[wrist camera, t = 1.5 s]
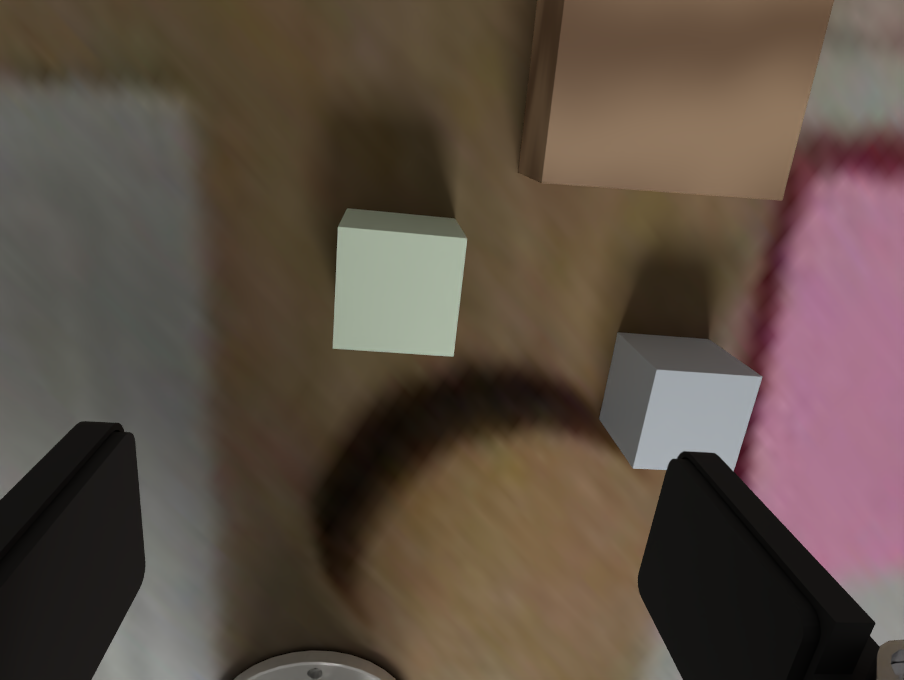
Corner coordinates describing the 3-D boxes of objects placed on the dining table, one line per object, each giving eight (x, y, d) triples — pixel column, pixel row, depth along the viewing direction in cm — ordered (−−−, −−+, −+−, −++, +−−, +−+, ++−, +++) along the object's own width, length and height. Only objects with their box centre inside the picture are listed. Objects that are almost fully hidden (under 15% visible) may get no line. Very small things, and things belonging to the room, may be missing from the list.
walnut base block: (719, 187, 29) (782, 200, 24) (516, 172, 28) (541, 183, 23) (773, -53, 26) (857, -90, 21) (544, -81, 25) (580, -127, 20)
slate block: (685, 423, 33) (733, 472, 29) (598, 418, 33) (633, 468, 28) (708, 338, 32) (762, 376, 27) (617, 331, 31) (656, 369, 26)
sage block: (443, 319, 30) (453, 356, 25) (342, 311, 29) (332, 348, 25) (454, 218, 28) (467, 238, 24) (347, 207, 28) (338, 226, 23)
